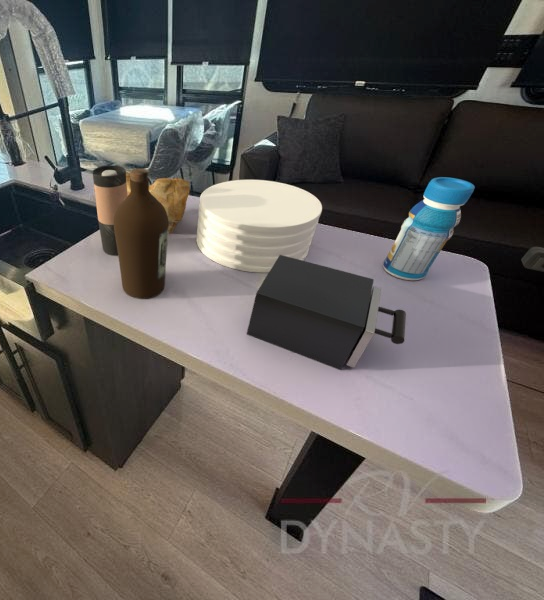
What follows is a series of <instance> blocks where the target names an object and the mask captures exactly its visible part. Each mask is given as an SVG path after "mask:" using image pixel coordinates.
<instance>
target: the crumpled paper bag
mask: <svg viewBox="0 0 544 600" xmlns="http://www.w3.org/2000/svg"><path fill="white" fill-rule="evenodd" d="M130 179H131V176H130V172H127V171H126V181H127V194H128V195H129V194H130V192H131V189H130ZM190 191H191V189H190V183H189V182H188V181H187V180H185V179H184V178H181V177H176V178H168V177H161V178H157V179H155V181H154V182H153V183H151V184H149V192H150V193H151V194H152V195H153V196H154V197H155V198H156V199H157V200H158V201H159V202H160V203H161V204H162V205H163V207H164V208H165V210H166V213H167V216H168V221H169V227H168V234H171V233H173V232H174V230H175V228H176V227H177V224H178V222H182V220H183V217H184V214H185V211H186V208H187V201H188V197H189V196H190V195H189V194H190Z"/></svg>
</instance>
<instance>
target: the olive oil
mask: <svg viewBox="0 0 544 600" xmlns="http://www.w3.org/2000/svg"><path fill="white" fill-rule="evenodd" d="M129 173H130V176H131V179H130V189H131V192H130V194H129V195H128V196H127V197H126V199H125V200H124V201H123V202H122V203H121V204H120V205H119V207H118V208H117V210H116V213H115V216H114V232H115V238H116V244H117V250H118V255H117V256H118V257H117V258H118V263H119V271H120V279H121V285H122V289H123V292H124V293H126V295H128V296H129V297H132V298H135V299H140V300H141V299H142V300H143V299H150V298H154V297H156V296H158V295H160V294H161V293H162V292H163V291H164V289H165V285H166V270H167V269H166V268H167V267H166V266H167V255H168V254H167V253H168V240H169V239H168V238H169V233H168V227H169V221H168V216H167V213H166V210H165V208H164V207H163V205H162V204H161V203H160V202H159V201H158V200H157V199H156V198H155V197H154V196H153V195H152V194H151V193H150V192H149V185H150V178H149V171H148V170H147V169H145V168H134V169H131V170H130V171H129Z"/></svg>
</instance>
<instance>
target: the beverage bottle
mask: <svg viewBox="0 0 544 600" xmlns="http://www.w3.org/2000/svg"><path fill="white" fill-rule="evenodd" d="M475 188H476V187H475V185H474V184H473V183H472V182H470V181H467V180H464V179H460V178H455V177H445V176H444V177H443V176H439V177H434V178H431V180H430V181H429V182H428V184H427V186H426V188H425V190H424V192H423V199H422V200H420V201H419V202H418V203H416V204H415V205H414V206H412V208H411V209H410V210H409V212H408V217H407V218H405V219H404V221H403V222H402V224H401V226H400V231H399V233H398V234H397V237H396V239H395V241H394V243H393V245H392V246H391V248H390V250H389V252H388V254H387V256H386V257H385V259H384V261H383V263H382V267H383V270H384V271H385V272H386V273H388V274H389V275H391V276H393V277H395V278H397V279H400V280H405V281H420V280H423V279H424V278H425V277H426V275H428V272H429V270H430V269H431V267H432V265H433V263H434V262H435V260H436V259H437V258H438V256H439V254H440V253H441V251H442V249H443V248H444V247H445V245H446V243H447V242H448V241H449V240H450V239H451V238H452V236H453V235H454V233H455V232H454V228H455V227H457V226H458V225H459V224H460V222H461V219H462V212H461V206H464V205H465V204H466V203H467V202H468V201H469V199H470V198H471V196H472V194H473V193H474V190H475Z"/></svg>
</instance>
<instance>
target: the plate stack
mask: <svg viewBox="0 0 544 600" xmlns="http://www.w3.org/2000/svg"><path fill="white" fill-rule="evenodd" d="M322 212H323V205H322V202H321V201H320V200H319V199H318V197H317V196H315V195H314V194H312V193H310V192H309V191H307V190H305V189H302V188H300V187H298V186H295V185H291V184H287V183H283V182H278V181H274V180H265V179H235V180H228V181H223V182H220V183H215V184H213V185H211V186H209V187H207V188H206V189H204V190H203V192H202V193H201V194H200V196H199V206H198V219H197V228H196V229H197V230H196V245H197V248H198V249H199V251H200V252H201V253H202V254H203V255H204V256H205V257H206V258H208V259H210V260H211V261H213V262H214V263H217V264H219V265H221V266H224V267H227V268H229V269H233V270H237V271H242V272H250V273H269V272H270V270H271V268H272V267H273V265H274V263H275V262H276V260H277V259H278V257H279V255H283V256H287V257H291V258H295V259H298V260H302V261H305V259H306V258H307V256H308V254H309V250H310V247H311V244H312V241H313V238H314V235H315V232H316V228H317V226H318V224H319V221H320V220H319V219H320V217H321V215H322Z"/></svg>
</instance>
